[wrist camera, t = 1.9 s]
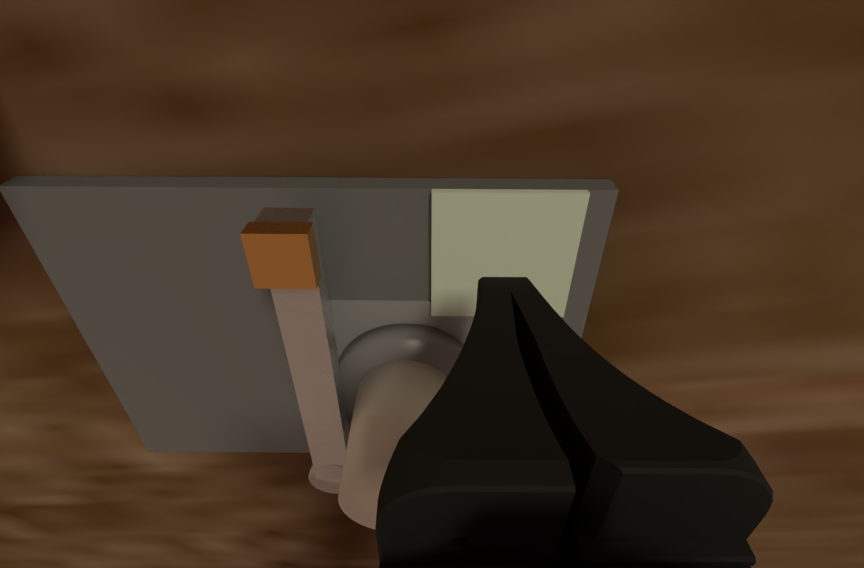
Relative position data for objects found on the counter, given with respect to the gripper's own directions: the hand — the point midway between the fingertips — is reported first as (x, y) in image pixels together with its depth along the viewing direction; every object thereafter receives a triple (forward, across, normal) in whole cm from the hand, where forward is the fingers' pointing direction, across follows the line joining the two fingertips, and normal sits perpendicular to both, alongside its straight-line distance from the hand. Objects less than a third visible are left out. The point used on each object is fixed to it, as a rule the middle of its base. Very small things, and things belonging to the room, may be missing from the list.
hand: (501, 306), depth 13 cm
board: (+4, +6, +5) cm, 9 cm away
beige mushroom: (+3, +3, +7) cm, 8 cm away
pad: (+4, 0, +1) cm, 5 cm away
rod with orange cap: (+2, +6, +5) cm, 8 cm away
